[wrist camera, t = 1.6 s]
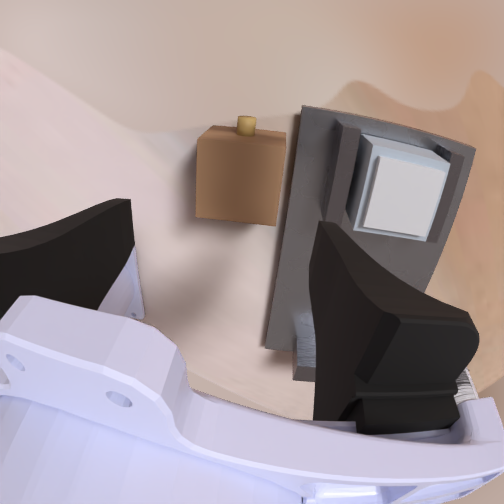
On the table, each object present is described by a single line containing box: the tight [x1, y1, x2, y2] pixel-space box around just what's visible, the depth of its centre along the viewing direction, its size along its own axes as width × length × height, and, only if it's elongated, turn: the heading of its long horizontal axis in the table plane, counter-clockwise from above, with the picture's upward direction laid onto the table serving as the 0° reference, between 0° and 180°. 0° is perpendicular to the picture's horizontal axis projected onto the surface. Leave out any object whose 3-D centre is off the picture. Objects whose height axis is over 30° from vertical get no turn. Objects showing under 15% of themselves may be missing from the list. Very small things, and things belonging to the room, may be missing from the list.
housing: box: [196, 116, 286, 226], centre depth 18 cm, size 4×6×4 cm
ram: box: [345, 134, 450, 241], centre depth 17 cm, size 5×5×3 cm
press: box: [265, 105, 476, 382], centre depth 21 cm, size 12×20×4 cm, turn 175°
